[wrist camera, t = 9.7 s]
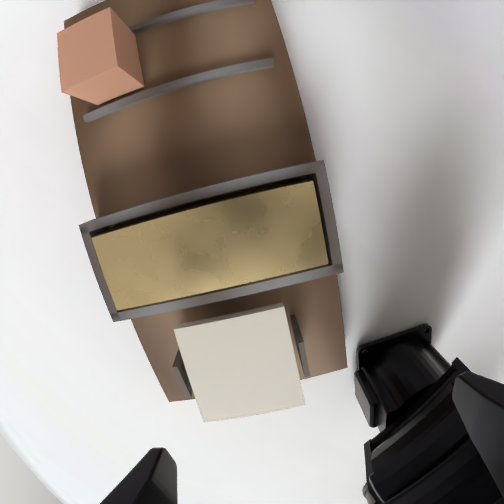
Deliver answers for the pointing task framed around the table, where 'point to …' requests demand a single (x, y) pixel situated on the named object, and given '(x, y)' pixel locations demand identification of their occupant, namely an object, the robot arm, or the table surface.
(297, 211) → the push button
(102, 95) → the peach tinted cube
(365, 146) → the table surface
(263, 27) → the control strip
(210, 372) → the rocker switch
